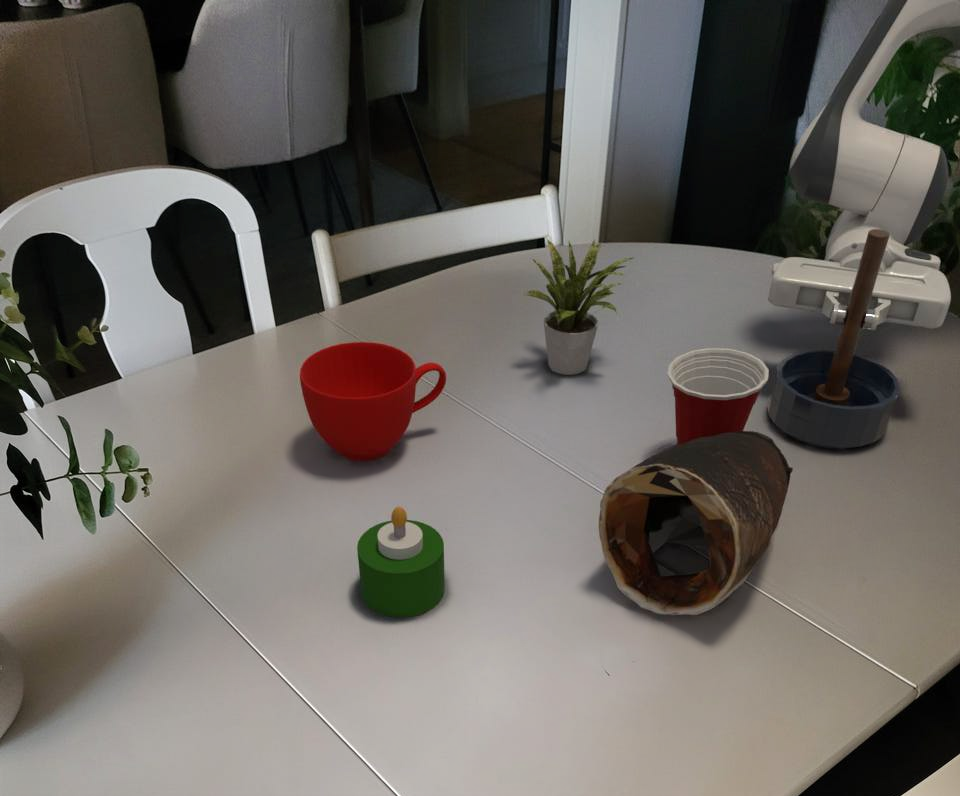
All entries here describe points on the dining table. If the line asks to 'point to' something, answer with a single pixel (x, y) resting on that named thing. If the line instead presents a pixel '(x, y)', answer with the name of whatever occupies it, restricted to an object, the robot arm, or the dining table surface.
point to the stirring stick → (853, 320)
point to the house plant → (573, 309)
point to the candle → (401, 566)
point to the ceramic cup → (363, 396)
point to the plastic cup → (714, 391)
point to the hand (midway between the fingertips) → (854, 321)
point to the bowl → (827, 422)
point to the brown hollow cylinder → (694, 518)
